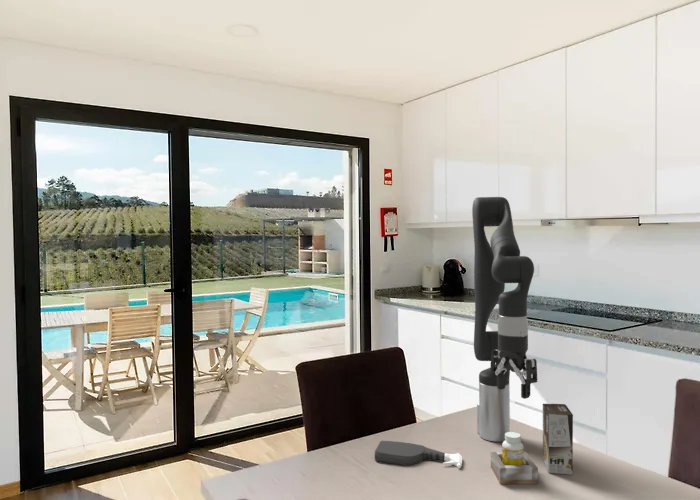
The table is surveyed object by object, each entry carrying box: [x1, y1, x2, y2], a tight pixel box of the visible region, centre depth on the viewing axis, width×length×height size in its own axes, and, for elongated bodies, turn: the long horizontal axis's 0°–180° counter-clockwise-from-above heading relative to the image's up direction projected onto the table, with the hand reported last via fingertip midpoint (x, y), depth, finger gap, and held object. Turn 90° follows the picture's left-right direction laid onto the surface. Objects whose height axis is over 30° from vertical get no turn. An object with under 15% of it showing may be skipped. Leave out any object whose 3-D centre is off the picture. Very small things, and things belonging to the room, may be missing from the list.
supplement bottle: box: [501, 431, 524, 465], centre depth 136 cm, size 5×5×10 cm
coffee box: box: [542, 403, 574, 476], centre depth 140 cm, size 9×6×16 cm
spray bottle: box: [374, 440, 463, 469], centre depth 147 cm, size 3×11×24 cm
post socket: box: [490, 451, 539, 485], centre depth 136 cm, size 10×10×4 cm
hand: (513, 393), depth 135 cm, fingers open, 8 cm apart
